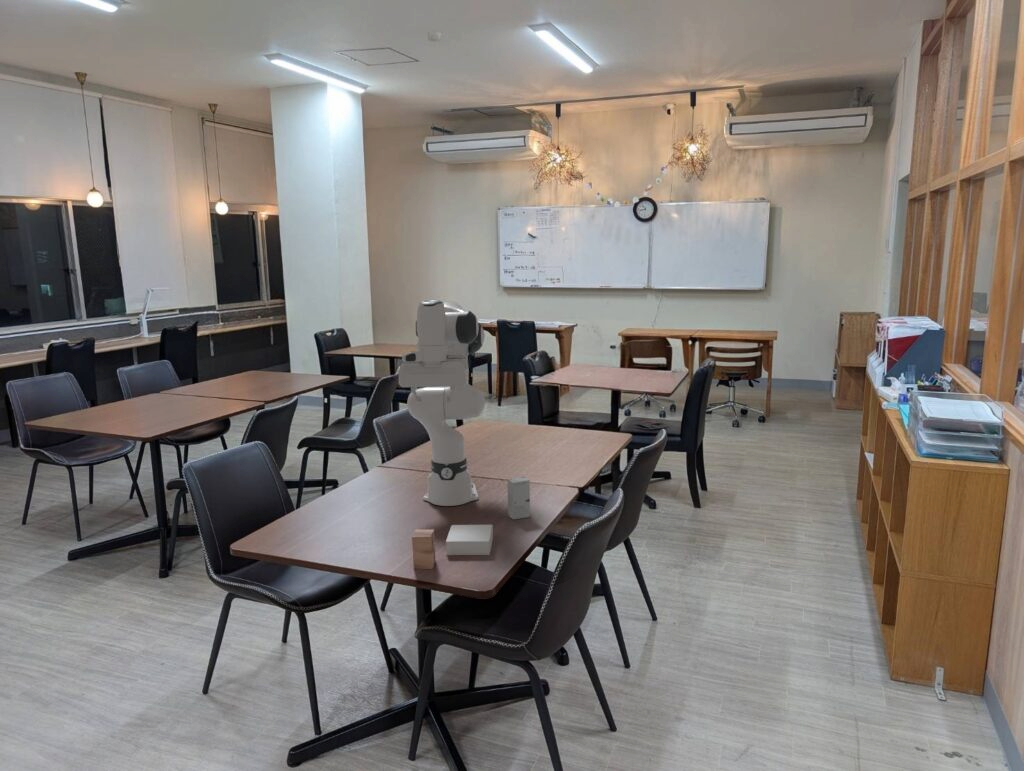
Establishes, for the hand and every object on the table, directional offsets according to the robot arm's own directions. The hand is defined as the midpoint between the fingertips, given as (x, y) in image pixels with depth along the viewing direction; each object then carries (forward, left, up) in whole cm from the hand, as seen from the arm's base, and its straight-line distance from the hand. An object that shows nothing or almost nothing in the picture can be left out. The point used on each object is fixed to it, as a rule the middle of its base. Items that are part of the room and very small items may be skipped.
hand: (433, 401), depth 207 cm
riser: (+16, +11, -39) cm, 43 cm away
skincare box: (-7, +24, -39) cm, 46 cm away
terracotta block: (+28, 0, -39) cm, 48 cm away
